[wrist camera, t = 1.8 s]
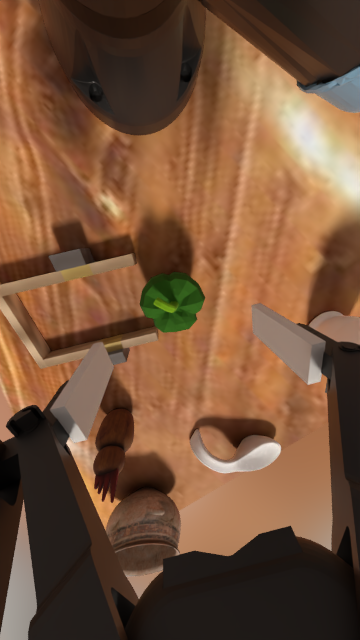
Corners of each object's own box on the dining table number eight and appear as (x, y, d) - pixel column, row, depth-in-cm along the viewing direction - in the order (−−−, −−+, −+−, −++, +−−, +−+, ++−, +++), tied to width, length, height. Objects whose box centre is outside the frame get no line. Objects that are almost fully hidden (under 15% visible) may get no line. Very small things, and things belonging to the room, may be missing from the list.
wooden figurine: (136, 404, 39) (123, 492, 25) (136, 422, 41) (124, 513, 27) (103, 404, 38) (71, 497, 24) (105, 423, 40) (77, 518, 26)
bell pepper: (205, 295, 31) (224, 318, 21) (166, 323, 32) (169, 355, 23) (175, 253, 27) (183, 259, 18) (134, 286, 29) (122, 306, 20)
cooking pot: (162, 516, 59) (163, 580, 48) (103, 514, 55) (89, 583, 43) (191, 471, 51) (200, 536, 39) (124, 464, 46) (113, 535, 35)
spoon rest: (281, 430, 48) (300, 460, 41) (260, 457, 52) (274, 488, 45) (200, 417, 43) (207, 449, 36) (183, 448, 47) (187, 482, 40)
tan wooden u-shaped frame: (-8, 270, 26) (-31, 274, 23) (129, 238, 26) (125, 237, 23) (54, 368, 33) (43, 381, 30) (161, 342, 33) (161, 353, 30)
